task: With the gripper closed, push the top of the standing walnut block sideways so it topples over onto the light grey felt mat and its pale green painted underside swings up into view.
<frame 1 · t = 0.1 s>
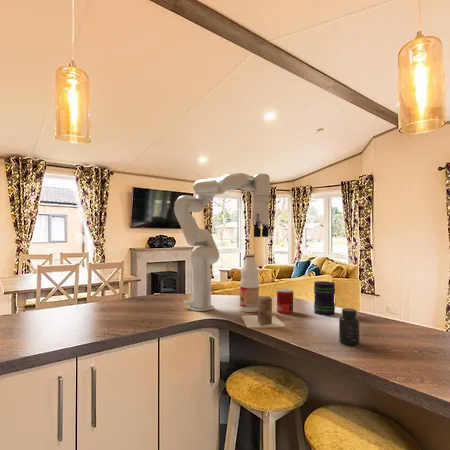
hand: (261, 236, 150), 37 cm above the kitchen counter, tool pointing down, fingers open, 9 cm apart
supplement bottle: (349, 344, 114), on the kitchen counter
block: (264, 323, 136), resting on mat
fruit juice: (249, 310, 162), on the kitchen counter
storage jar: (324, 313, 157), on the kitchen counter
canned food: (284, 312, 158), on the kitchen counter
mat: (262, 321, 141), on the kitchen counter
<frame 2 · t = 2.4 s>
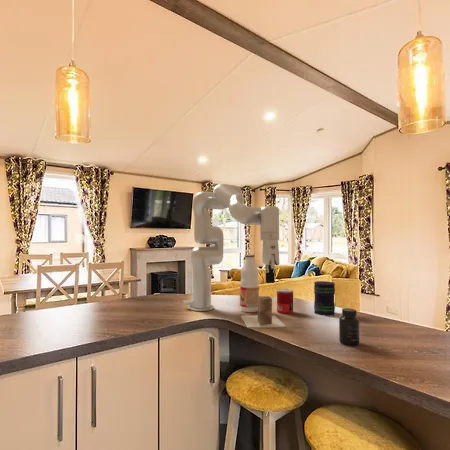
hand: (269, 282, 128), 19 cm above the kitchen counter, tool pointing down, fingers closed
nothing on the kitchen counter moved.
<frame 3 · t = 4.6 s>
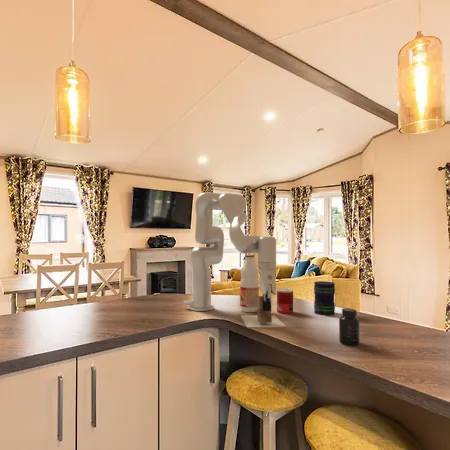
hand: (266, 310, 133), 7 cm above the kitchen counter, tool pointing down, fingers closed
block: (264, 322, 136), point 1 cm above the kitchen counter, tilted 9°, touching mat
everything else where it was.
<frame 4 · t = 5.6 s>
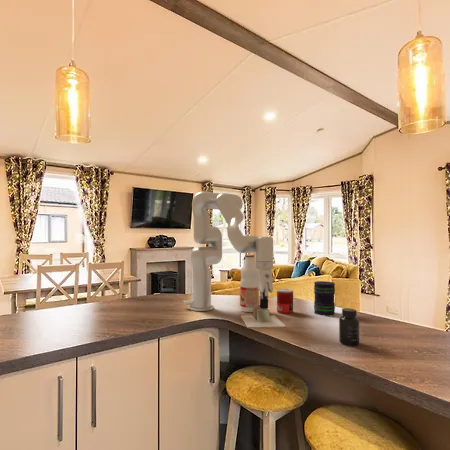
hand: (264, 307, 137), 7 cm above the kitchen counter, tool pointing down, fingers closed
block: (263, 316, 139), point 3 cm above the kitchen counter, tilted 90°, touching mat
everything else where it was.
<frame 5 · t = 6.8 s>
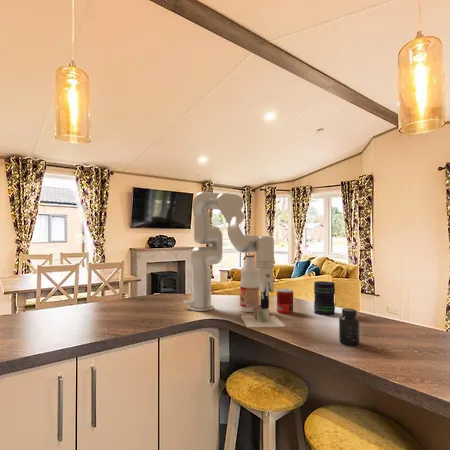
hand: (264, 308, 136), 7 cm above the kitchen counter, tool pointing down, fingers closed
nothing on the kitchen counter moved.
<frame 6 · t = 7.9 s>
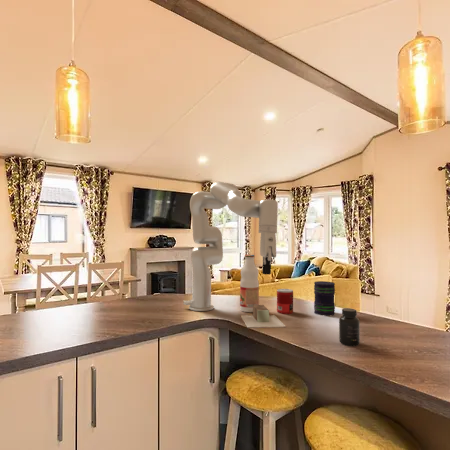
hand: (266, 274, 132), 22 cm above the kitchen counter, tool pointing down, fingers closed
nothing on the kitchen counter moved.
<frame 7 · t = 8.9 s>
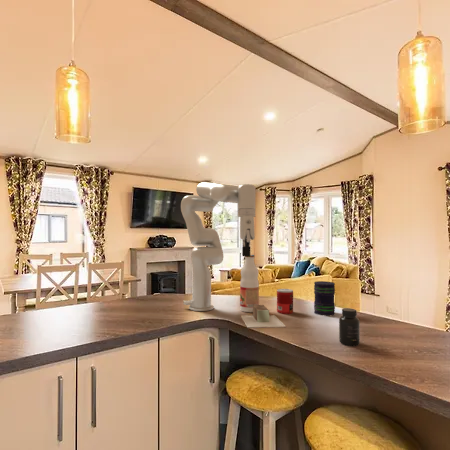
hand: (246, 256, 137), 29 cm above the kitchen counter, tool pointing down, fingers closed
nothing on the kitchen counter moved.
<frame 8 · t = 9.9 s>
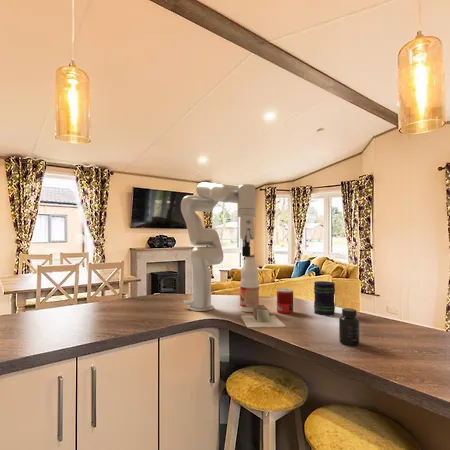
hand: (246, 256, 137), 29 cm above the kitchen counter, tool pointing down, fingers closed
nothing on the kitchen counter moved.
at the end: block tilted 90°; block inside the target area on the mat (2.5 cm from its centre), point 2.9 cm above the mat's base; the gripper is holding nothing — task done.
